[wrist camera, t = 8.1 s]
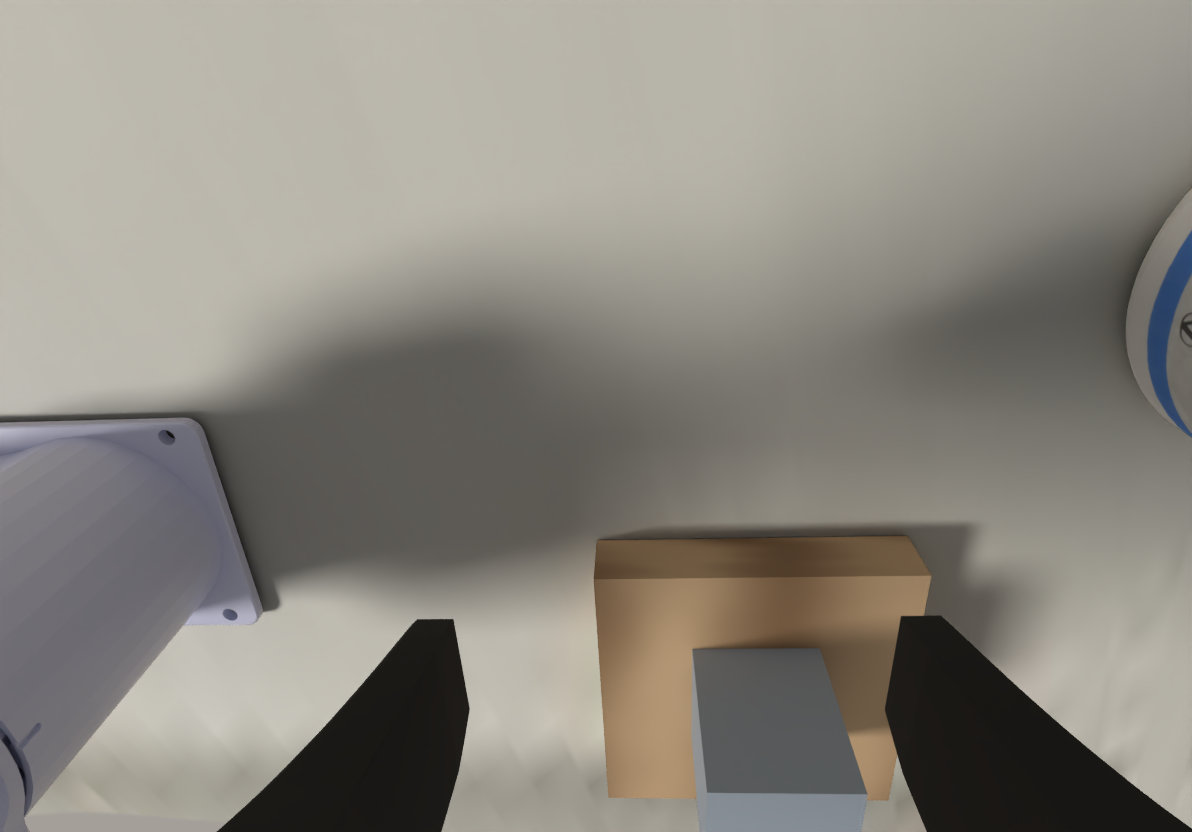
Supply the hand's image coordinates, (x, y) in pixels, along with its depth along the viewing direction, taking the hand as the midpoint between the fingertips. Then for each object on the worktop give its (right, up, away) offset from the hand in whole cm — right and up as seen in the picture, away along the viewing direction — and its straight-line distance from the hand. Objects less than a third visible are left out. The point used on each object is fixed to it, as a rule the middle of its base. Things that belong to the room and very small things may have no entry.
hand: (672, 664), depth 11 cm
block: (+4, -5, +12) cm, 13 cm away
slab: (+4, -4, +13) cm, 15 cm away
